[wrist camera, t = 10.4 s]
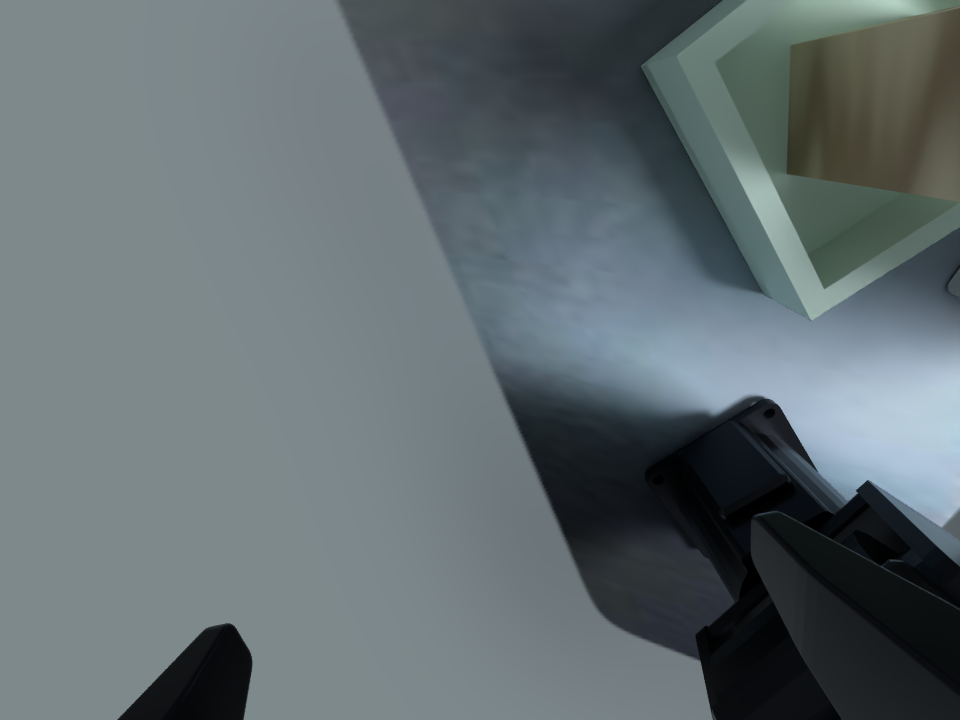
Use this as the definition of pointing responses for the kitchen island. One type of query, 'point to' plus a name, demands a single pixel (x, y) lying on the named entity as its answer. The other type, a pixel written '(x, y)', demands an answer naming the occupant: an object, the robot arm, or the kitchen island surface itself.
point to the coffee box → (955, 284)
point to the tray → (763, 151)
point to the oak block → (880, 106)
